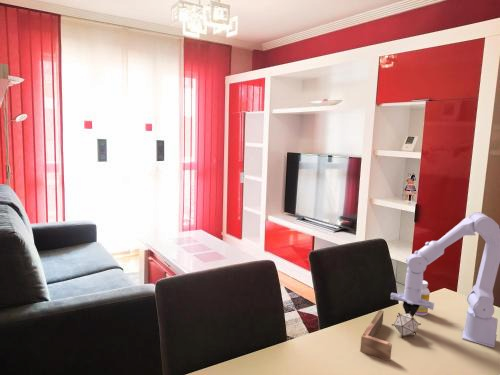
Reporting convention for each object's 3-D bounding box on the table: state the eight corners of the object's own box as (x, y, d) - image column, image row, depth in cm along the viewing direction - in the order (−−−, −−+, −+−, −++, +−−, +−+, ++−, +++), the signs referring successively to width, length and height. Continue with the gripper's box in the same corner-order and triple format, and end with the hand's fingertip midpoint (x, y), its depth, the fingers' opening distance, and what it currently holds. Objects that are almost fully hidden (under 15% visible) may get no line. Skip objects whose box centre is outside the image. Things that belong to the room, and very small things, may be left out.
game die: (409, 347, 130) (425, 335, 123) (386, 335, 131) (400, 322, 124) (411, 325, 136) (426, 312, 130) (389, 315, 138) (402, 301, 131)
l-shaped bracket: (403, 330, 134) (405, 316, 134) (389, 361, 115) (391, 345, 114) (378, 322, 139) (379, 309, 138) (360, 351, 119) (361, 335, 119)
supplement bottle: (431, 315, 148) (434, 283, 146) (418, 317, 145) (422, 285, 143) (417, 307, 154) (421, 277, 152) (405, 309, 151) (408, 279, 149)
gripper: (390, 285, 136) (386, 320, 138) (434, 295, 129) (429, 332, 130) (394, 279, 142) (390, 313, 144) (436, 289, 135) (432, 325, 136)
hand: (409, 322), depth 138 cm, fingers closed
